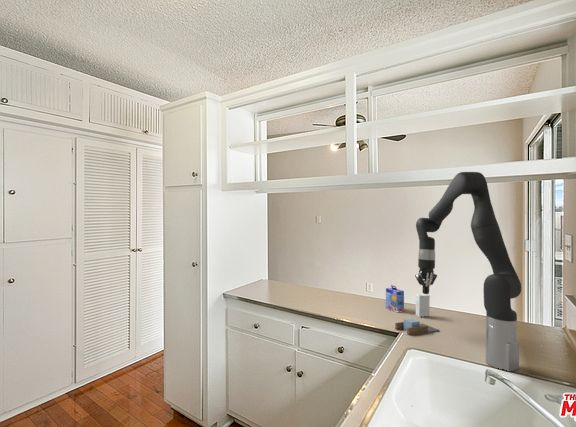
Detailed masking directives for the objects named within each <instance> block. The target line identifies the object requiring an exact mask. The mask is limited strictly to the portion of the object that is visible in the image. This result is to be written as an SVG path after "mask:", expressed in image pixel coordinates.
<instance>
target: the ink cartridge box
mask: <svg viewBox="0 0 576 427" xmlns="http://www.w3.org/2000/svg"><path fill="white" fill-rule="evenodd" d="M387 308H389V309H392V310H395V311H404V312H405V291H404V290H402V289H398V288H397V287H396V285H392V284H391V285H390V287H386V288H385V309H387ZM389 309H388V310H389ZM392 310H391V311H392ZM395 311H394V312H395Z"/></svg>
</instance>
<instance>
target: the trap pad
mask: <svg viewBox="0 0 576 427" xmlns="http://www.w3.org/2000/svg"><path fill="white" fill-rule="evenodd" d="M424 325H427V324H426V323H420V326H424ZM427 326H428V332H427V333H435V332H436V333H437V331H438V332H440V331H441V330H440V329H438V328H435V327H433V326H430V325H427Z"/></svg>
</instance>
